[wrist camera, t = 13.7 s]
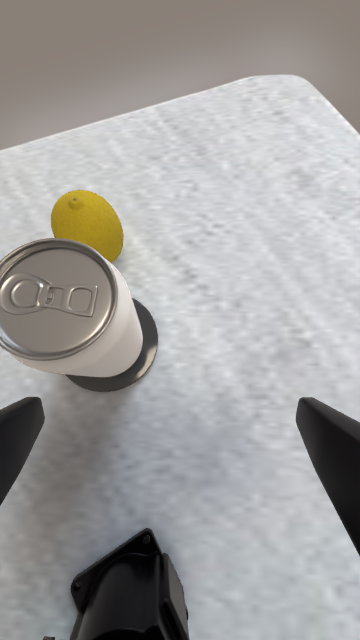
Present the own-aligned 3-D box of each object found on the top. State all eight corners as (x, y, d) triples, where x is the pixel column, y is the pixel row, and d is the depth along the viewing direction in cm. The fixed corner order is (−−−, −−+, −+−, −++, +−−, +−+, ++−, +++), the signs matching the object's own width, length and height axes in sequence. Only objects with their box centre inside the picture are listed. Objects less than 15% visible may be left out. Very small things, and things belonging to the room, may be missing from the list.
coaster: (81, 411, 21) (79, 412, 20) (41, 320, 22) (38, 318, 22) (174, 360, 22) (175, 359, 22) (131, 279, 24) (130, 277, 24)
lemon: (73, 284, 23) (32, 236, 16) (71, 235, 25) (32, 168, 17) (130, 279, 24) (117, 230, 16) (125, 231, 25) (111, 165, 18)
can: (78, 303, 22) (-6, 220, 11) (147, 311, 23) (137, 238, 11) (63, 374, 21) (-54, 363, 9) (138, 380, 21) (115, 379, 10)
